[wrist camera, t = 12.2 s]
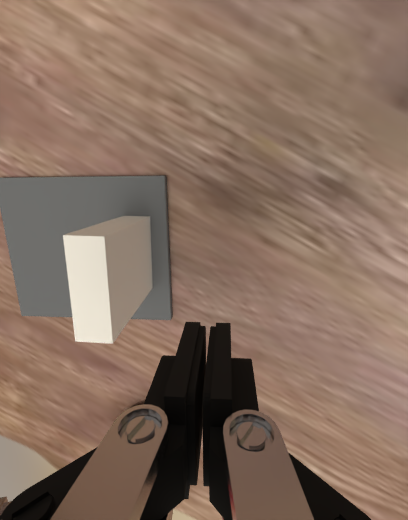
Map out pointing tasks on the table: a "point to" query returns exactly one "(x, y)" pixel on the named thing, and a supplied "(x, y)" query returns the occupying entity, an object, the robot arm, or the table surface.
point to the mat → (72, 219)
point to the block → (108, 275)
